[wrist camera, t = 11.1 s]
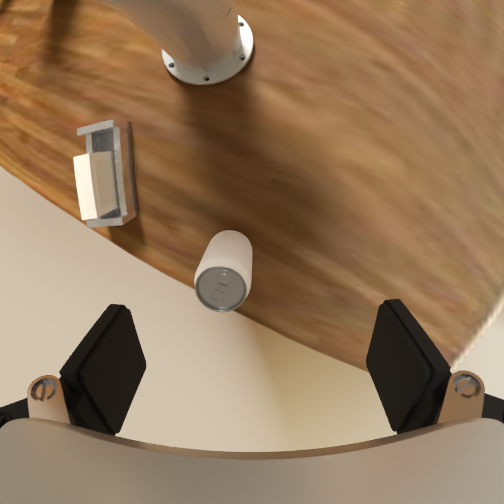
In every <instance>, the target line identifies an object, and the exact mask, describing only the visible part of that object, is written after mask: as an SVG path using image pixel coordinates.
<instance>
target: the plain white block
mask: <svg viewBox="0 0 504 504" xmlns="http://www.w3.org/2000/svg"><path fill="white" fill-rule="evenodd" d="M73 158H74V168H75V177H76V185H77V192H78V199H79V205H80V211H81V217H82V220H86V219H94V218H99V217H101V216H102V215H104V214H106V213H108V212H110V211H112V210H114V209H116V208H118V207H120V204H119V196H118V187H117V177H116V167H115V154H114V151H105V152H96V153H88V154H84V155H80V156H76V157H73Z"/></svg>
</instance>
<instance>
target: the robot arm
mask: <svg viewBox="0 0 504 504" xmlns="http://www.w3.org/2000/svg"><path fill="white" fill-rule="evenodd" d="M90 1H93V2H97V3H100V4H103V5H106V6H108V7H111V8H112V9H114V10H116V11H118V12H119V13H121V14H122V15H124V16H125V17H126V18H128V19H129V20H130V21H131V22H133V23H134V24H135V25H136V26H137V27H138V28H139V29H140V30H142V31H143V32H144V33H145V34H146V35H147V36H148V37H149V38H150V39H152V40H153V41H154V42H155V43H156V44H157V45H158V46H159V47H160V48H161V49H162V58H163V61H164V64H165V66H166V68H167V69H168V71H169V72H170V73H171V74H172V75H174V76H175V77H176V78H178V79H179V80H181V81H183V82H186V83H189V84H193V85H212V84H217V83H220V82H223V81H225V80H228V79H229V78H231V77H233V76H235V75H236V74H237V73H238V72H239V71H241V70H242V69H243V67H244V66H245V65H246V64H247V62H248V61H249V59H250V57H251V54H252V51H253V44H254V41H253V34H252V31H251V29H250V27H249V25H248V24H247V22H246V21H245V20H244V19H243V18H241V17H240V16H239V15H238V13H237V7H236V1H235V0H90ZM240 26H243V27H240ZM241 58H244V60H241ZM173 65H175V66H174V67H173V68H172V66H173ZM207 78H209V81H206V79H207ZM366 365H367V368H368V370H369V373H370V375H371V377H372V380H373V382H374V385H375V387H376V390H377V392H378V395H379V397H380V400H381V402H382V405H383V407H384V410H385V413H386V415H387V418H388V420H389V423H390V426H391V428H392V430H393V431H394V432H395V431H396V432H397V435H393V436H389V437H385V438H380V439H375V440H370V441H365V442H360V443H355V444H348V445H342V446H335V447H328V448H321V449H320V448H319V449H310V450H298V451H284V452H283V451H282V452H223V451H222V452H221V451H207V450H195V449H186V448H177V447H169V446H163V445H157V444H151V443H145V442H140V441H135V440H130V439H126V438H121V437H117V436H115V434H116V433H119V432H120V430H121V427H122V425H123V422H124V420H125V417H126V415H127V412H128V410H129V407H130V405H131V403H132V400H133V398H134V395H135V393H136V391H137V388H138V386H139V384H140V381H141V379H142V377H143V374H144V372H145V369H146V360H145V357H144V354H143V351H142V348H141V345H140V342H139V339H138V335H137V332H136V329H135V325H134V322H133V319H132V315H131V312H130V310H129V309H127V308H126V307H125V306H124V305H118V304H110V305H109V306H108V307H107V309H106V310H105V311H104V312H103V314H102V315H101V316H100V318H99V319H98V320H97V321H96V323H95V324H94V326H93V327H92V328H91V329H90V330H89V332H88V333H87V334H86V336H85V337H84V338H83V340H82V341H81V342H80V344H79V345H78V346H77V348H76V349H75V351H74V352H73V353H72V355H71V356H70V357H69V359H68V360H67V362H66V363H65V365H64V366H63V367H62V369H61V370H60V371H59V372H60V374H61V377H60V379H58V378H57V377H55V376H52V375H45V376H41V377H39V378H37V379H36V380H34V381H33V382H32V383H31V385H30V386H29V388H28V392H27V398H25V399H23V400H20V401H17V402H15V403H12V404H9V405H6V406H4V407H0V504H504V400H503V399H500V398H497V397H494V396H491V395H488V394H485V393H484V392H485V389H484V384H483V382H482V380H481V379H480V378H479V377H478V376H477V375H476V374H474V373H472V372H469V371H458V372H456V373H454V374H453V375H452V373H451V372H450V368H451V367H450V366H449V365H448V363H447V362H446V360H445V359H444V357H443V356H442V354H441V353H440V352H439V350H438V349H437V347H436V346H435V345H434V343H433V342H432V341H431V339H430V338H429V336H428V335H427V334H426V332H425V331H424V330H423V328H422V327H421V326H420V324H419V323H418V322H417V320H416V319H415V318H414V317H413V315H412V314H411V313H410V311H409V310H408V309H407V308H406V306H405V305H404V304H403V303H402V301H401V300H400V299H391V300H385V301H384V302H383V304H381V305H380V306H379V309H378V313H377V318H376V322H375V327H374V331H373V335H372V339H371V343H370V346H369V350H368V354H367V358H366Z"/></svg>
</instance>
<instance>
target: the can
mask: <svg viewBox="0 0 504 504" xmlns="http://www.w3.org/2000/svg"><path fill="white" fill-rule="evenodd" d="M251 278H252V246H251V243H250V241H249V240H248V238H247V237H246V236H245V235H244V234H242V233H240V232H237V231H233V230H225V231H222V232H219V233H218V234H216V235H215V236H214V237H213V238H212V239H211V241H210V243H209V245H208V247H207V249H206V251H205V253H204V255H203V257H202V259H201V262H200V264H199V266H198V268H197V271H196V273H195V278H194V283H195V292H196V295H197V297H198V299H199V301H200V302H201V303H202V304H203V305H204V306H205V307H207V308H209V309H211V310H214V311H217V312H228V311H232V310H234V309H236V308H238V307H239V306H240V305H241V304H242V303H243V302H244V300H245V298H246V297H247V296H248V294H249V291H250V288H251Z"/></svg>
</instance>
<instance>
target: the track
mask: <svg viewBox="0 0 504 504" xmlns="http://www.w3.org/2000/svg"><path fill="white" fill-rule="evenodd" d="M77 136H86V149H87V154H88V153H96V152H105V151H114V154H115V167H116V177H117V187H118V196H119V204H120V207H118V208H116V209H114V210H112V211H110V212H108V213H106V214H104V215H102V216H101V217H99V218H94V219H89V220H87V227H88V228H90V227H103V226H117V225H124V224H125V223H127V222H128V221H130V220H131V219H133V218H134V217H136V216H138V215H139V214H138V206H137V198H136V188H135V178H134V167H133V154H132V137H131V122H130V121H122V120H114V119H113V120H108V121H104V122H100V123H96V124H92V125H88V126H85V127H81V128H78V129H77Z"/></svg>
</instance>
